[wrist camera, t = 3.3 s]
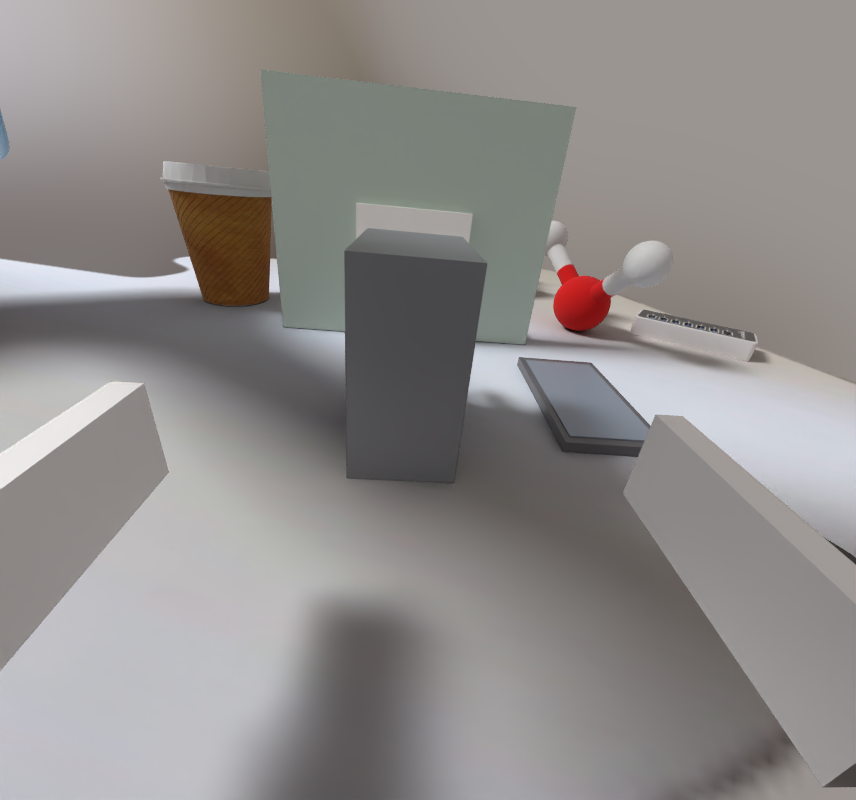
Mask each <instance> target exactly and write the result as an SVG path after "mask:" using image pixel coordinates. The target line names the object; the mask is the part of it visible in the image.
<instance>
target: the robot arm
mask: <svg viewBox="0 0 856 800" xmlns="http://www.w3.org/2000/svg"><path fill="white" fill-rule="evenodd" d="M9 148H10V146H9V141H8V136H7V132H6V129H5V125H4V121H3V117H2V114H1V111H0V160H1V159H3V158H5V157H6V156H7V154H8V152H9ZM168 473H169V471H168V467H167V464H166V460H165V457H164V453H163V449H162V446H161V442H160V439H159V435H158V432H157V428H156V424H155V421H154V417H153V414H152V410H151V407H150V403H149V399H148V396H147V392H146V389H145V385H144V383H131V382H115V381H111V382H109V383H108V384H106V385H105V386H103V387H101V388H100V389H98V390H97V391H95V392H94V393H92V394H91V395H89V396H88V397H86V398H85V399H83V400H81V401H80V402H78V403H77V404H75V405H74V406H72V407H71V408H69V409H68V410H66V411H65V412H63V413H62V414H60V415H58V416H57V417H55V418H54V419H52V420H51V421H49V422H48V423H46V424H45V425H43V426H42V427H40V428H38V429H37V430H35V431H34V432H32V433H31V434H29V435H28V436H26V437H25V438H23V439H22V440H20V441H19V442H17V443H15V444H14V445H12V446H11V447H9V448H8V449H6V450H5V451H3V452H2V453H0V671H1V670H2V668H3V667H4V666H5V665H6V664H7V663H8V661H9V660H10V659H11V658H12V657H13V655H14V654H15V653H16V652H17V651H18V650H19V648H20V647H21V646H22V645H23V644H24V642H25V641H26V640H27V639H28V638H29V637H30V635H31V634H32V633H33V632H34V631H35V630H36V628H37V627H38V626H39V625H40V624H41V622H42V621H43V620H44V619H45V618H46V617H47V615H48V614H49V613H50V612H51V611H52V609H53V608H54V607H55V606H56V605H57V604H58V602H59V601H60V600H61V599H62V598H63V597H64V595H65V594H66V593H67V592H68V591H69V589H70V588H71V587H72V586H73V585H74V584H75V582H76V581H77V580H78V579H79V578H80V576H81V575H82V574H83V573H84V572H85V571H86V569H87V568H88V567H89V566H90V565H91V564H92V562H93V561H94V560H95V559H96V558H97V556H98V555H99V554H100V553H101V552H102V551H103V549H104V548H105V547H106V546H107V545H108V543H109V542H110V541H111V540H112V539H113V538H114V536H115V535H116V534H117V533H118V532H119V530H120V529H121V528H122V527H123V526H124V525H125V523H126V522H127V521H128V520H129V519H130V518H131V516H132V515H133V514H134V513H135V512H136V510H137V509H138V508H139V507H140V506H141V505H142V503H143V502H144V501H145V500H146V499H147V497H148V496H149V495H150V494H151V493H152V492H153V490H154V489H155V488H156V487H157V486H158V485H159V483H160V482H161V481H162V480H163V479H164V477H165V476H166V475H167V474H168ZM623 494H624V496H625V497H626V499H627V500H628V502H629V503H630V505H631V506H632V508H633V509H634V511H635V512H636V513H637V515H638V516H639V518H640V519H641V521H642V522H643V524H644V525H645V527H646V528H647V530H648V531H649V533H650V534H651V536H652V537H653V538H654V540H655V541H656V543H657V544H658V546H659V547H660V549H661V550H662V552H663V553H664V555H665V556H666V558H667V559H668V561H669V562H670V563H671V565H672V566H673V568H674V569H675V571H676V572H677V574H678V575H679V577H680V578H681V580H682V581H683V583H684V584H685V585H686V587H687V588H688V590H689V591H690V593H691V594H692V596H693V597H694V599H695V600H696V602H697V603H698V605H699V606H700V608H701V609H702V610H703V612H704V613H705V615H706V616H707V618H708V619H709V621H710V622H711V624H712V625H713V627H714V628H715V630H716V631H717V633H718V634H719V635H720V637H721V638H722V640H723V641H724V643H725V644H726V646H727V647H728V649H729V650H730V652H731V653H732V655H733V656H734V658H735V659H736V660H737V662H738V663H739V665H740V666H741V668H742V669H743V671H744V672H745V674H746V675H747V677H748V678H749V680H750V681H751V682H752V684H753V685H754V687H755V688H756V690H757V691H758V693H759V694H760V696H761V697H762V699H763V700H764V702H765V703H766V705H767V706H768V707H769V709H770V710H771V712H772V713H773V715H774V716H775V718H776V719H777V721H778V722H779V724H780V725H781V727H782V728H783V730H784V731H785V732H786V734H787V735H788V737H789V738H790V740H791V741H792V743H793V744H794V746H795V747H796V749H797V750H798V752H799V753H800V754H801V756H802V757H803V759H804V760H805V762H806V763H807V765H808V766H809V768H810V769H811V771H812V772H813V774H814V775H815V776H816V778H817V779H818V781H819V782H820V784H821V785H822V787H856V558H855V557H854V556H853V555H851V554H850V553H848V552H847V551H845V550H843V549H842V548H840V547H839V546H837V545H835V544H834V543H832V542H831V541H829V540H827V539H826V538H824V537H823V536H822V535H820V534H819V533H818V532H817V531H816V530H815V529H813V528H812V527H811V526H810V525H809V524H808V523H806V522H805V521H804V520H803V519H802V518H801V517H799V516H798V515H797V514H796V513H795V512H794V511H792V510H791V509H790V508H789V507H788V506H787V505H785V504H784V503H783V502H782V501H781V500H780V499H778V498H777V497H776V496H775V495H774V494H773V493H771V492H770V491H769V490H768V489H767V488H766V487H764V486H763V485H762V484H761V483H760V482H759V481H757V480H756V479H755V478H754V477H753V476H752V475H750V474H749V473H748V472H747V471H746V470H745V469H744V468H742V467H741V466H740V465H739V464H738V463H737V462H735V461H734V460H733V459H732V458H731V457H730V456H728V455H727V454H726V453H725V452H724V451H723V450H721V449H720V448H719V447H718V446H717V445H716V444H714V443H713V442H712V441H711V440H710V439H709V438H707V437H706V436H705V435H704V434H703V433H702V432H700V431H699V430H698V429H697V428H696V427H695V426H693V425H692V424H691V423H690V422H689V421H688V420H686V419H685V418H684V417H683V416H669V415H655V417H654V420H653V422H652V424H651V427H650V429H649V432H648V434H647V436H646V439H645V441H644V444H643V446H642V448H641V451H640V453H639V456H638V458H637V460H636V463H635V465H634V467H633V470H632V472H631V475H630V477H629V479H628V482H627V484H626V487H625V489H624V491H623Z"/></svg>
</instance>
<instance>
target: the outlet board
mask: <svg viewBox="0 0 856 800" xmlns="http://www.w3.org/2000/svg"><path fill="white" fill-rule="evenodd" d="M261 82H262V93H263V105H264V116H265V127H266V139H267V150H268V161H269V173H270V184H271V196H272V206H273V217H274V229H275V241H276V252H277V264H278V275H279V286H280V298H281V309H282V321H283V327H292V328H306V329H319V330H333V331H345V273H344V250H345V249H346V248H347V247H348V246H349V245H351V244H352V243H353V242H354V241H355V240H356V239H357V238H358V237H359V236H360V235H361V234H362V233H363V232H364V231H365V230H366V229H367V228H373V229H384V230H395V231H406V232H417V233H427V234H438V235H449V236H460V237H463V238H464V239H465V240H466V241H467V242H468V243H469V244H470V245H471V246H472V247H473V248H474V249H475V250H476V251H477V253H478V254H479V255H480V256H481V257H482V258H483V259H484V260H485V261H486V262H487V263H488V264H487V271H486V277H485V284H484V290H483V297H482V303H481V309H480V316H479V322H478V329H477V335H476V341H483V342H497V343H510V344H524V345H525V342H526V337H527V332H528V328H529V323H530V318H531V314H532V309H533V305H534V300H535V295H536V291H537V286H538V282H539V277H540V272H541V268H542V263H543V258H544V254H545V249H546V245H547V240H548V235H549V231H550V226H551V222H552V217H553V212H554V208H555V203H556V198H557V194H558V189H559V185H560V180H561V175H562V170H563V166H564V161H565V157H566V152H567V148H568V143H569V138H570V133H571V129H572V125H573V120H574V115H575V111H576V107H570V106H563V105H554V104H546V103H537V102H529V101H520V100H512V99H504V98H495V97H487V96H478V95H469V94H461V93H453V92H444V91H436V90H427V89H419V88H411V87H402V86H393V85H385V84H377V83H368V82H360V81H352V80H343V79H335V78H326V77H318V76H309V75H300V74H292V73H284V72H276V71H267V70H261Z"/></svg>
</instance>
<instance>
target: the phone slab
mask: <svg viewBox="0 0 856 800" xmlns="http://www.w3.org/2000/svg"><path fill="white" fill-rule="evenodd" d="M517 365H518V367H519V369H520V371H521V373H522V375H523V377H524V378H525V380H526V382H527V384H528V386H529V388H530V390H531V392H532V394H533V395H534V397H535V399H536V401H537V403H538V405H539V407H540V409H541V411H542V413H543V414H544V416H545V418H546V420H547V422H548V424H549V426H550V428H551V430H552V431H553V433H554V435H555V437H556V439H557V441H558V443H559V445H560V447H561V448H562V450H563V452H575V453H590V454H605V455H620V456H635V457H638V456H639V453H640V451H641V448H642V446H643V444H644V441H645V439H646V436H647V434H648V432H649V429H650V427H651V426H650V425H649V424H648V423H647V422H646V421H645V419H644V418H643V417H642V416H641V415H640V414H639V413H638V412H637V411H636V410H635V409H634V408H633V407H632V406H631V405H630V403H629V402H628V401H627V400H626V399H625V398H624V397H623V396H622V395H621V394H620V393H619V392H618V391H617V390H616V389H615V388H614V386H613V385H612V384H611V383H610V382H609V381H608V380H607V379H606V378H605V377H604V376H603V375H602V374H601V373H600V372H599V370H598V369H597V368H596V367H595V366H594V365H593V364H592V363H587V362H574V361H561V360H548V359H535V358H522V357H519V360H518V364H517Z"/></svg>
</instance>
